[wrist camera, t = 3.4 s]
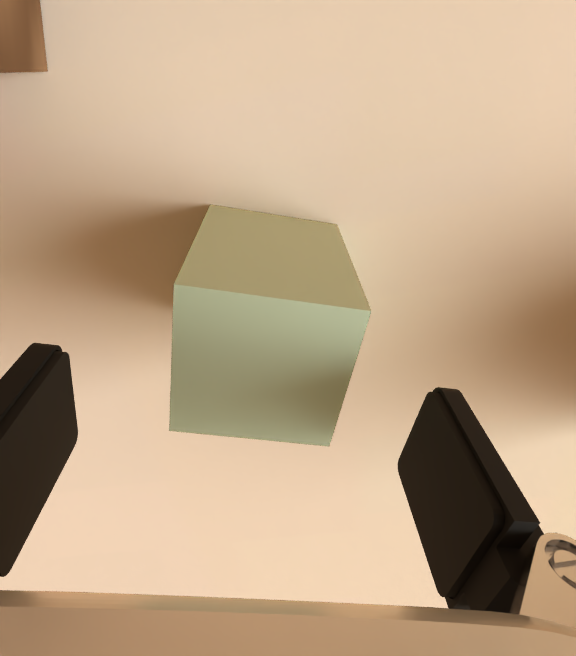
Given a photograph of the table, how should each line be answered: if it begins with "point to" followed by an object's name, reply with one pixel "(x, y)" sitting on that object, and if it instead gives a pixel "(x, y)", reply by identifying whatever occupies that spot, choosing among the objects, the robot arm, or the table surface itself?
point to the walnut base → (21, 37)
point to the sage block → (264, 328)
